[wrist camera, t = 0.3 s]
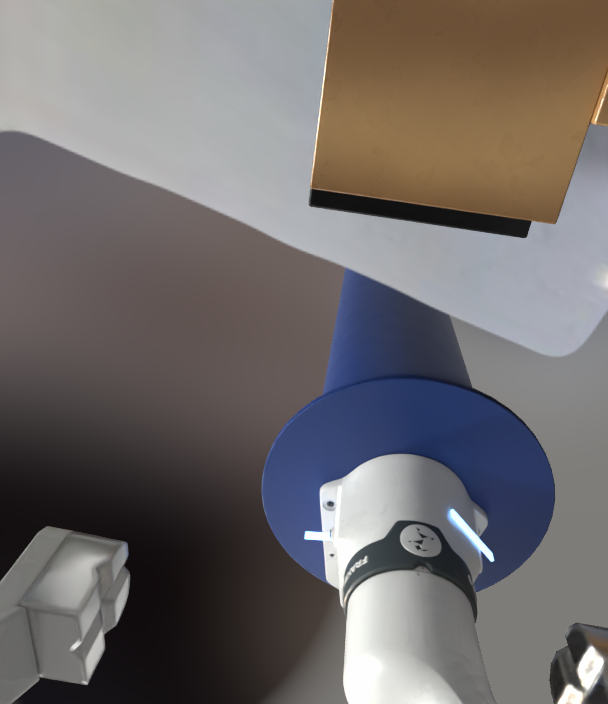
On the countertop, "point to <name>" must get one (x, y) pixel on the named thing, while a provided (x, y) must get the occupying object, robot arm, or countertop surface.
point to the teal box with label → (419, 213)
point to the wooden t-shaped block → (461, 101)
